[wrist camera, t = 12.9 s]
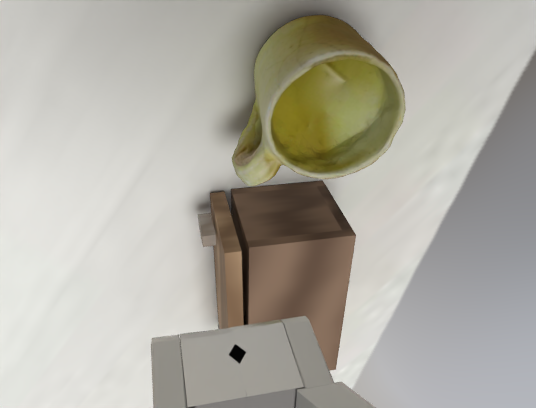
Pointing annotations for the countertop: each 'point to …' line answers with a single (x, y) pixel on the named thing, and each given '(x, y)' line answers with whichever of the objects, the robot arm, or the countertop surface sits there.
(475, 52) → the countertop surface
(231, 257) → the door
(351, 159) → the mug
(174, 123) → the countertop surface
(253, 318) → the cabinet
